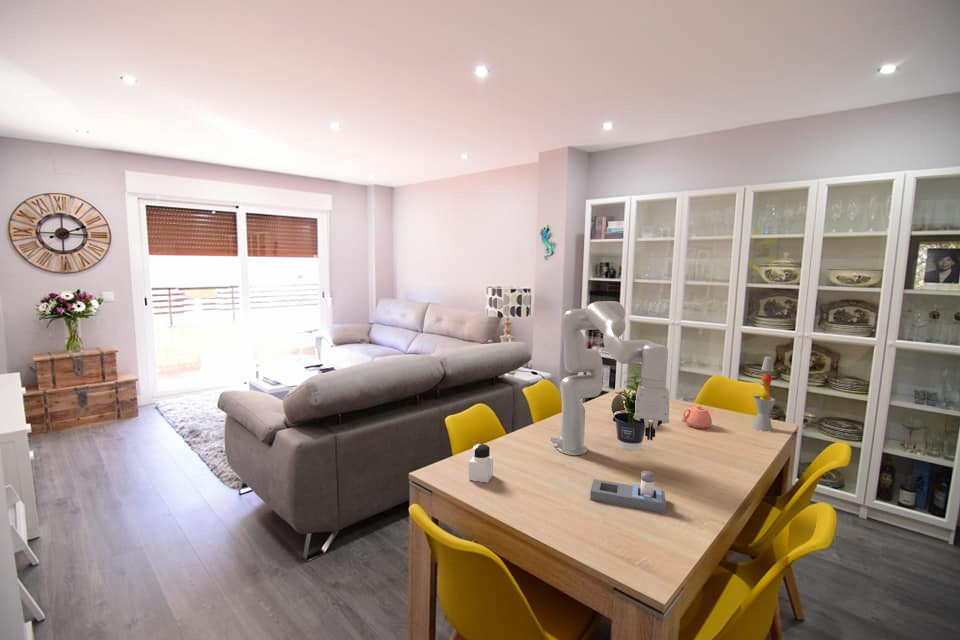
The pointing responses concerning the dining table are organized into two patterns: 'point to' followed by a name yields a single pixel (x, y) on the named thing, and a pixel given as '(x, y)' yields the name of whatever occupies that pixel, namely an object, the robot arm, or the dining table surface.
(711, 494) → the dining table surface
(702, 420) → the pink rounded piece
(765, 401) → the lava lamp
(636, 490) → the grey slotted holder
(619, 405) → the wooden sphere
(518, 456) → the dining table surface
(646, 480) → the plug
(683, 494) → the dining table surface
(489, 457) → the medicine bottle
